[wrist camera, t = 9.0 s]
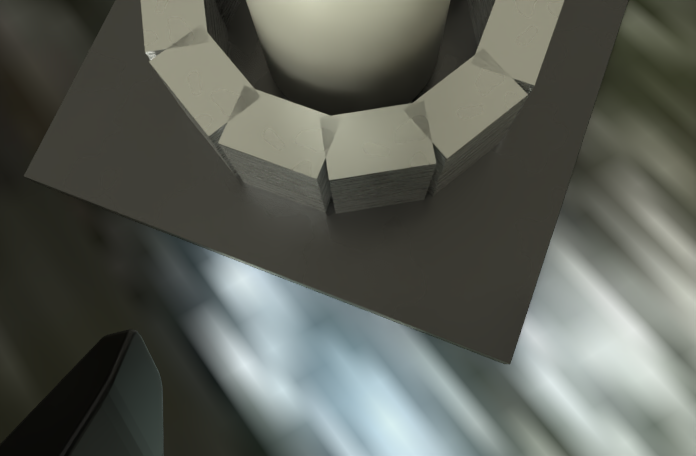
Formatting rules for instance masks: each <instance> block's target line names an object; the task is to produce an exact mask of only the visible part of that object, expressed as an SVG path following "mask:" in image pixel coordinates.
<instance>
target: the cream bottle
mask: <svg viewBox="0 0 696 456" xmlns="http://www.w3.org/2000/svg"><path fill="white" fill-rule="evenodd" d="M246 2H247V5H248V8H249V11H250V14H251V17H252V20H253V23H254V26H255V29H256V32H257V35H258V38H259V41H260V44H261V47H262V50H263V53H264V56H265V59H266V62H267V65H268V68H269V70H270V73H271V75H272V77H273V79H274V81H275V83H276V84H277V86H278V87H279V89H280V90H281V91H282V92H283V94H284V95H285V96H286V97H287V98H288V99H289V100H290V101H291V102H293V103H296V104H299V105H302V106H305V107H307V108H310V109H313V110H316V111H319V112H322V113H324V114H327V115H330V116H332V115H339V114H345V113H352V112H358V111H364V110H371V109H377V108H384V107H390V106H396V105H403V104H408V103H410V102H411V101H412V100H413V99H414V98H415V97H416V96H417V95H418V94H419V93H420V92H421V91H422V89H423V88H424V87H425V86H426V84H427V82H428V81H429V79H430V77H431V76H432V73H433V71H434V69H435V66H436V63H437V59H438V55H439V50H440V46H441V41H442V37H443V32H444V28H445V23H446V19H447V14H448V9H449V5H450V0H246Z"/></svg>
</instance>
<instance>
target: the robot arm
mask: <svg viewBox="0 0 696 456" xmlns="http://www.w3.org/2000/svg"><path fill="white" fill-rule="evenodd" d="M0 456H164V455H163V401H162V383H161V378H160V375H159V372H158V370H157V368H156V366H155V364H154V362H153V360H152V358H151V356H150V354H149V352H148V350H147V347H146V345H145V343H144V341H143V339H142V337H141V336H140V334H139V333H138V332H137V331H135V330H133V329H129V330H125V331H121V332H117V333H113V334H109V335H106V336H104V337H103V338H102V339H101V340H100V341H99V342H98V343H97V344H96V345H95V346H94V347H93V348H92V349H91V350H90V351H89V352H88V353H87V354H86V355H85V356H84V357H83V358H82V359H81V360H80V362H79V363H78V364H77V365H76V366H75V367H74V368H73V369H72V370H71V371H70V372H69V373H68V374H67V375H66V376H65V377H64V378H63V379H62V380H61V381H60V382H59V383H58V385H57V386H56V387H55V388H54V389H53V390H52V391H51V392H50V393H49V394H48V395H47V396H46V397H45V398H44V399H43V400H42V401H41V402H40V403H39V404H38V405H37V406H36V408H35V409H34V410H33V411H32V412H31V413H30V414H29V415H28V416H27V417H26V418H25V419H24V420H23V421H22V422H21V423H20V424H19V425H18V426H17V427H16V428H15V429H14V430H13V432H12V433H11V434H10V435H9V436H8V437H7V438H6V439H5V440H4V441H3V442H2V443H1V444H0Z"/></svg>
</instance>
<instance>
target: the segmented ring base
mask: <svg viewBox="0 0 696 456" xmlns="http://www.w3.org/2000/svg"><path fill="white" fill-rule="evenodd" d="M627 3H628V0H450V5H449V9H448V14H447V19H446V23H445V28H444V32H443V37H442V41H441V46H440V50H439V55H438V59H437V63H436V66H435V69H434V71H433V73H432V76H431V77H430V79H429V81H428V82H427V84H426V86H425V87H424V88H423V89H422V91H421V92H420V93H419V94H418V95H417V96H416V97H415V98H414V99H413V100H412V101H411V102H410V103H408V104H403V105H396V106H390V107H384V108H377V109H371V110H364V111H358V112H352V113H345V114H339V115H332V116H330V115H327V114H324V113H322V112H319V111H316V110H313V109H310V108H307V107H305V106H302V105H299V104H296V103H293V102H291V101H290V100H289V99H288V98H287V97H286V96H285V95H284V94H283V92H282V91H281V90H280V89H279V87H278V86H277V84H276V83H275V81H274V79H273V77H272V75H271V73H270V70H269V68H268V65H267V62H266V59H265V56H264V53H263V50H262V47H261V44H260V41H259V38H258V35H257V32H256V29H255V26H254V23H253V20H252V17H251V14H250V11H249V8H248V5H247V2H246V0H115V2H114V4H113V6H112V8H111V10H110V12H109V14H108V16H107V18H106V20H105V22H104V23H103V25H102V27H101V29H100V31H99V33H98V35H97V37H96V39H95V41H94V43H93V45H92V46H91V48H90V50H89V52H88V54H87V56H86V58H85V60H84V62H83V64H82V66H81V68H80V69H79V71H78V73H77V75H76V77H75V79H74V81H73V83H72V85H71V87H70V89H69V91H68V92H67V94H66V96H65V98H64V100H63V102H62V104H61V106H60V108H59V110H58V112H57V114H56V115H55V117H54V119H53V121H52V123H51V125H50V127H49V129H48V131H47V133H46V135H45V137H44V138H43V140H42V142H41V144H40V146H39V148H38V150H37V152H36V154H35V156H34V158H33V160H32V161H31V163H30V165H29V167H28V169H27V171H26V173H25V175H24V177H26V178H28V179H30V180H31V181H33V182H35V183H37V184H40V185H43V186H45V187H48V188H50V189H53V190H56V191H58V192H61V193H63V194H66V195H68V196H71V197H74V198H76V199H79V200H81V201H84V202H87V203H89V204H92V205H94V206H97V207H100V208H102V209H105V210H107V211H110V212H112V213H115V214H118V215H120V216H123V217H125V218H128V219H131V220H133V221H136V222H138V223H141V224H143V225H146V226H149V227H151V228H154V229H156V230H159V231H162V232H164V233H167V234H169V235H172V236H175V237H177V238H180V239H182V240H185V241H187V242H190V243H193V244H195V245H198V246H200V247H203V248H206V249H208V250H211V251H213V252H216V253H219V254H221V255H224V256H226V257H229V258H231V259H234V260H237V261H239V262H242V263H244V264H247V265H250V266H252V267H255V268H257V269H260V270H262V271H265V272H268V273H270V274H273V275H275V276H278V277H281V278H283V279H286V280H288V281H291V282H294V283H296V284H299V285H301V286H304V287H306V288H309V289H312V290H314V291H317V292H319V293H322V294H325V295H327V296H330V297H332V298H335V299H338V300H340V301H343V302H345V303H348V304H350V305H353V306H356V307H358V308H361V309H363V310H366V311H369V312H371V313H374V314H376V315H379V316H382V317H384V318H387V319H389V320H392V321H394V322H397V323H400V324H402V325H405V326H407V327H410V328H413V329H415V330H418V331H420V332H423V333H425V334H428V335H431V336H433V337H436V338H438V339H441V340H444V341H446V342H449V343H451V344H454V345H457V346H459V347H462V348H464V349H467V350H469V351H472V352H475V353H477V354H480V355H482V356H485V357H488V358H490V359H493V360H495V361H498V362H501V363H503V364H510V363H511V360H512V357H513V354H514V351H515V348H516V344H517V341H518V338H519V335H520V332H521V329H522V326H523V323H524V320H525V317H526V314H527V311H528V308H529V304H530V301H531V298H532V295H533V292H534V289H535V286H536V283H537V280H538V277H539V274H540V271H541V268H542V264H543V261H544V258H545V255H546V252H547V249H548V246H549V243H550V240H551V237H552V234H553V231H554V228H555V224H556V221H557V218H558V215H559V212H560V209H561V206H562V203H563V200H564V197H565V194H566V191H567V187H568V184H569V181H570V178H571V175H572V172H573V169H574V166H575V163H576V160H577V157H578V154H579V151H580V147H581V144H582V141H583V138H584V135H585V132H586V129H587V126H588V123H589V120H590V117H591V114H592V111H593V107H594V104H595V101H596V98H597V95H598V92H599V89H600V86H601V83H602V80H603V77H604V74H605V70H606V67H607V64H608V61H609V58H610V55H611V52H612V49H613V46H614V43H615V40H616V37H617V34H618V30H619V27H620V24H621V21H622V18H623V15H624V12H625V9H626V6H627Z"/></svg>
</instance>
